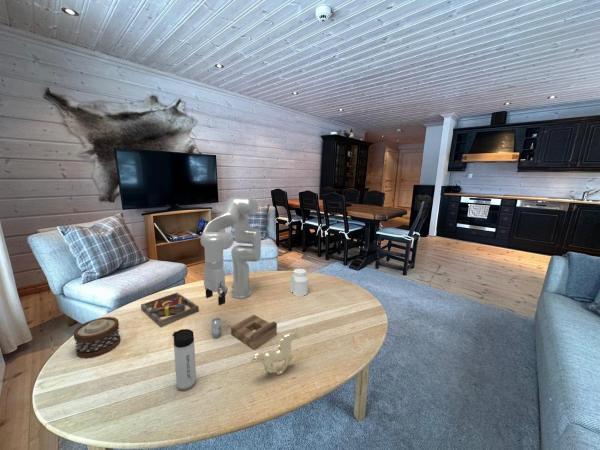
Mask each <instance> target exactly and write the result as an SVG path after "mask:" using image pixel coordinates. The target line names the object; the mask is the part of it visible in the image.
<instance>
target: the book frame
mask: <svg viewBox="0 0 600 450" xmlns="http://www.w3.org/2000/svg"><path fill="white" fill-rule="evenodd" d="M174 297H178V298H179V297H184V300H185V301H184V302H185V303H184V305H185V306H186V307H188V309H184V310H185V311H183V312H180V313H178V314H173V315H169V316H167V317H165V318H163V319H162V318H161V317H158V316H157V315H156V314H155V313H150V310H151V308H152V306H153V303H154V301H160V300H162V299H164V300H166V299H172V298H174ZM199 309H200V308H199V306H198V305H197V304H196V303H194V302H193V301H192V300H190V299H188V298H186V297H185V296H183V295H182V294H180V293H179V292H175V293H172V294H168V295H165V296H162V297H159V298H156V299H154V300H151V301H148V302H143V303H141V304H140V310H141V311H142V312H143V313H145V315H147V316H148V317H149V318H150V320H152V321H153V322H154V323H156V325H158V326H159V327H160V328H163V327H165V326H167V325H169V324H172V323H175V322H177V321H180V320H182V319H183V318H184V319H185V318H186V317H189V316H191V315H193V314H196V313H198V312H200V311H199Z"/></svg>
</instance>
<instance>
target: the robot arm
mask: <svg viewBox="0 0 600 450" xmlns="http://www.w3.org/2000/svg"><path fill="white" fill-rule="evenodd" d="M258 210H259V204H258V201H257V200H256V199H253V198H251V197H242V196H241V197H238V196H234V197H233V196H232V197H230V198H228V199H227V200H226V202H225V204H224V207H223V209H222V211H221V213H220V215H218V216H216V217H214V219H212V220H210V221H209V222H208V223H206V225H205V226H204V228H203V231H202V234H201V235H200V244H201V246H202V247H204V265H205V266H204V270H203V278H202V280H203V286H204V289H205V298H206V299H209V298H212V297H213V296H214V295H213V294H214V293H217V294H218V297H217V302H218V304H217V305H218V306H222V305H224V304H226V295H227V294H228V290H229V288H228V286H227V285H226V277H225V270H224V251H225V250H228V249H230V248H231V247H232V246H233V245H234V242H236V243H237V244H240V245H235V246H233V247H232V248H231V253H230V254H231V259H232V267H233V268H232V272H233V273H232V275H233V276H232V278H233V284H232V285H231V289H232V291H231V293H230V296H231V297H232V298H234V299H246V298H249V297H250V296H251V295H252V293H253V292H252V289H250V267H249V264H248V262H254V263H255V262H256V263H257V262H259V261H260V259H261V253H262V250H261V249H262V246H261V245H262V233H261V231H260V229H258V228H256V227H255V228H254V227H250V220H249V219H250V218H249V217H248V216H247V215H256V214H257V213H258ZM233 226H234V232H233V233H234V236H233V234H232V233H230V232H226V231H225V232H223V231H220V230H223V229H228V228H231V227H233ZM241 244H250V245H241Z"/></svg>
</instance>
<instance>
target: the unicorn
mask: <svg viewBox="0 0 600 450" xmlns="http://www.w3.org/2000/svg"><path fill="white" fill-rule="evenodd" d="M297 331H298V326H297V327H296V329H295V331H294V330H293V329H291V332H288V333H286V334H285V335H283V336H282V338H281V339H279V341H278V343H277V345H276V348H277V349H276V350H273V351H270V350H269V351H265V352H264V353H263V352H257V353H255V354H254V355H253V356H252V357H251V360H250V362H249V364H251V365H252V364H255V363H261V364H262V365H263V369H264V371H265V372H266V373H269V374H272V373H276V375H277V376H279V375H282V374H283V372H285V370H286V369H287V367H288V366H289V365H290V364H291V362H292V361H293V359H294V357H295V356H294V354H292V353H291V352H292V341H293V340H300V339H301V335H299V334H297ZM282 361H284V362H283V367H282V368H281V369H280V370H278V369H274V368H273V367H274V363H279V362H282Z"/></svg>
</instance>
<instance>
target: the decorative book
mask: <svg viewBox="0 0 600 450" xmlns="http://www.w3.org/2000/svg"><path fill="white" fill-rule="evenodd" d="M184 297H185V296H183V297H179V298H178V297H174V298H172V299H166V300H164V299H162V300H160V301H154V303H153V306H152V307H151V308H150V313H155V314H156V315H157V316H158V317H159V318H162V317H170V316H173V315H175V314H178V313H180V312H183V311H185V310H186V309H185V308H186V307H187V305H185V304H184V303H185V302H184V301H185V300H184Z"/></svg>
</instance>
